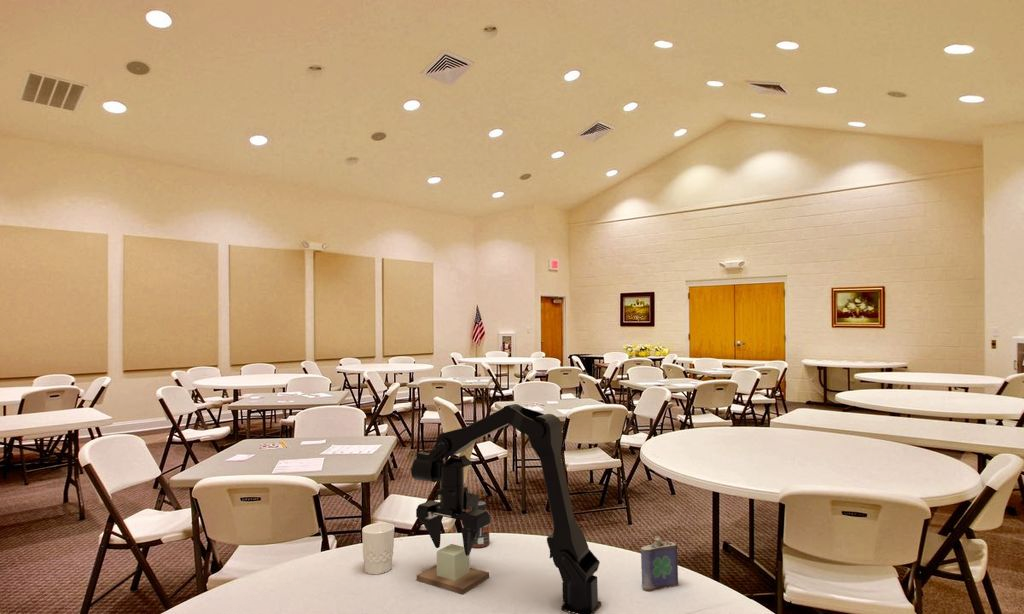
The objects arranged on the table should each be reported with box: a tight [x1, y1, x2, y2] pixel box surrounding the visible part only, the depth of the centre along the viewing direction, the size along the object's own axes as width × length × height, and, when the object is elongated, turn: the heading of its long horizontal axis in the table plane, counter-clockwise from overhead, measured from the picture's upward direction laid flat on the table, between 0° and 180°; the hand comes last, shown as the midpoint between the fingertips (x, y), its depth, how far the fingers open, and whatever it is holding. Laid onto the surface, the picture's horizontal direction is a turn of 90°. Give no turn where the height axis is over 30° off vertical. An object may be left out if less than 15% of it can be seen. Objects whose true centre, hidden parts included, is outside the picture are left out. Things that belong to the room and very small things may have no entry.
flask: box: [640, 535, 679, 592], centre depth 117 cm, size 9×3×11 cm, turn 109°
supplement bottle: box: [469, 500, 490, 549], centre depth 144 cm, size 6×6×11 cm
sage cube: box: [436, 543, 470, 581], centre depth 122 cm, size 6×6×6 cm
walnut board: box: [416, 564, 490, 595], centre depth 122 cm, size 14×10×1 cm
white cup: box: [361, 522, 395, 575], centre depth 129 cm, size 8×8×10 cm
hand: (452, 551), depth 123 cm, fingers open, 9 cm apart
